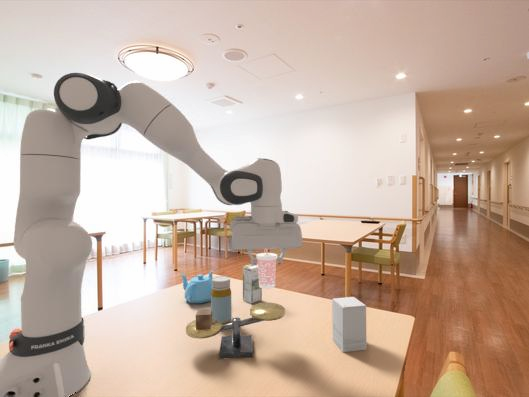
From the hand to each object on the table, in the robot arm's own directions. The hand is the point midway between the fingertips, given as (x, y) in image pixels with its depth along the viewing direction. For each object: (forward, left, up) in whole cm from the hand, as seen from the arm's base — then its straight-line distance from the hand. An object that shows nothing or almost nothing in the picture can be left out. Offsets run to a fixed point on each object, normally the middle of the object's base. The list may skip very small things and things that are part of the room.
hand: (266, 264), depth 80 cm
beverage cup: (0, 0, -7) cm, 7 cm away
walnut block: (-16, +9, -17) cm, 25 cm away
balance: (-8, +4, -24) cm, 26 cm away
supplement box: (+20, -13, -24) cm, 34 cm away
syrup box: (+15, +32, -24) cm, 43 cm away
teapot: (-1, +47, -24) cm, 53 cm away
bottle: (-4, +22, -24) cm, 33 cm away
